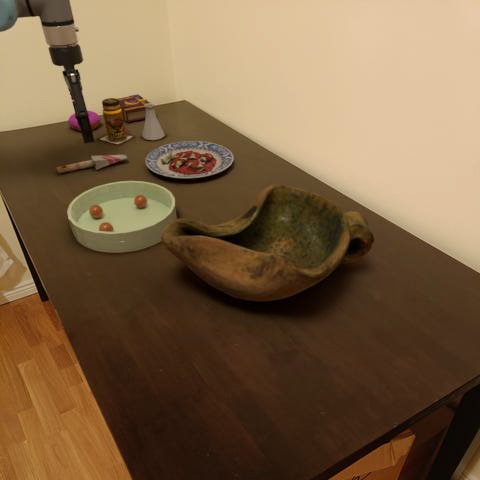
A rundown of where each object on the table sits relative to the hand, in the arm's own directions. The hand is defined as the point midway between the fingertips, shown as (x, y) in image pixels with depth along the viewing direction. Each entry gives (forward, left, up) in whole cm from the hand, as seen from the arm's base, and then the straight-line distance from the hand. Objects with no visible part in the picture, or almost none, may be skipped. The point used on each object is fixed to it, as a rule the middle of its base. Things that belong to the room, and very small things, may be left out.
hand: (86, 133), depth 119 cm
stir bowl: (+3, -35, -10) cm, 36 cm away
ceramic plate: (+27, -9, -10) cm, 30 cm away
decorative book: (+20, +41, -10) cm, 47 cm away
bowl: (+27, -68, -10) cm, 74 cm away
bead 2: (-2, -40, -7) cm, 41 cm away
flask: (+22, +17, -10) cm, 29 cm away
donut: (+2, +34, -10) cm, 36 cm away
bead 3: (+8, -30, -7) cm, 32 cm away
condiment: (+10, +20, -10) cm, 24 cm away
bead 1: (-3, -31, -7) cm, 32 cm away
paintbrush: (0, 0, -10) cm, 10 cm away
